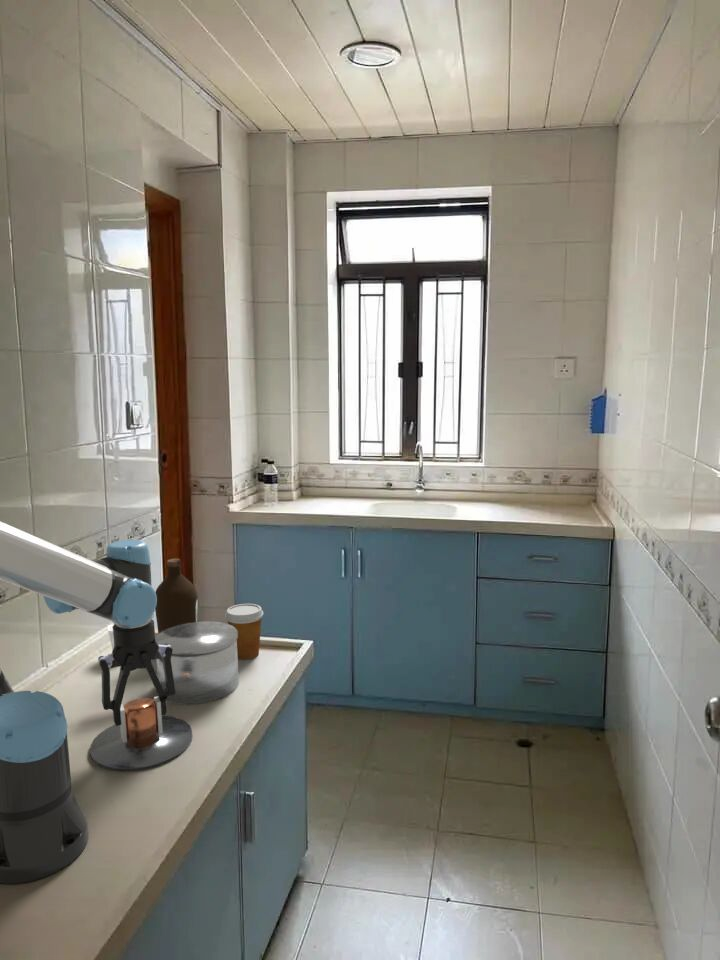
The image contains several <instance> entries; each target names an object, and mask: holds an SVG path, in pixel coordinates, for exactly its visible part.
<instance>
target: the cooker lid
mask: <svg viewBox="0 0 720 960" xmlns="http://www.w3.org/2000/svg"><path fill="white" fill-rule="evenodd" d="M123 707H124V710H125V721H126V734H127V742H124V743H123V741H122V738H121V730H120V725H118V726H116V725H115V724H113V725H111V726H108V727H107V728H105V729H104V730H103V731H101V732H100V733H98V734H97V736H95V738H94V739H93V740H92V742H91V744H90V748H89V749H90V756H91V757H90V758H91V759H92V761H93V762H94V763H95V765H97V766H99V767H100V768H103V769H105V770H109V771H116V772H137V771H142V770H148V769H152V768H155V767H159V766H161V765H164V764H167V763H169V762H170V761H172V760H174V759H176V758H178V757H179V756H181V755H182V754H183V753H185V752H186V751H187V749H188V748H189V747H190V746H191V744H192V740H193V729H192V727H191V725H190V724H189V723H188V722H187V721H186V720H183V719H181V718H179V717H176V716H171V715H166V714H165V715H162V729H163V733H161V734H159V733H158V727H157V713H156V702H155V701H154V699H152V698H146V697H145V698H143V697H142V698H136V699H133V700H130V701H128V702H126V704H123Z"/></svg>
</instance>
